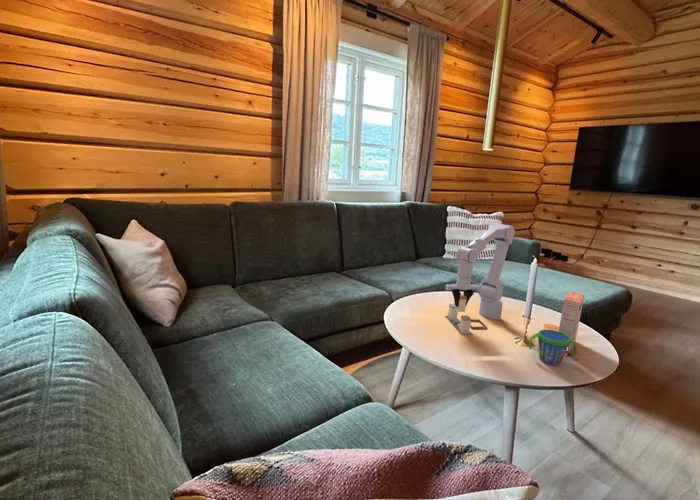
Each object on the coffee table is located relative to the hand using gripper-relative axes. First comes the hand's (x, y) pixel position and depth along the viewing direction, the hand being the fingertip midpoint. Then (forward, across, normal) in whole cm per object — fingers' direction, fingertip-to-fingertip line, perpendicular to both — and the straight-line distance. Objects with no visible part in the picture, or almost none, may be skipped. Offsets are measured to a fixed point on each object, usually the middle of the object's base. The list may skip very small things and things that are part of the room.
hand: (460, 305), depth 163 cm
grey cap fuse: (+9, 0, -6) cm, 11 cm away
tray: (+10, -8, 0) cm, 13 cm away
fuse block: (+10, 0, 0) cm, 10 cm away
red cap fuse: (+2, 0, 0) cm, 2 cm away
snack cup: (+10, -23, +29) cm, 39 cm away
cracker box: (+10, -39, +17) cm, 44 cm away
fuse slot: (+9, 0, +6) cm, 11 cm away
